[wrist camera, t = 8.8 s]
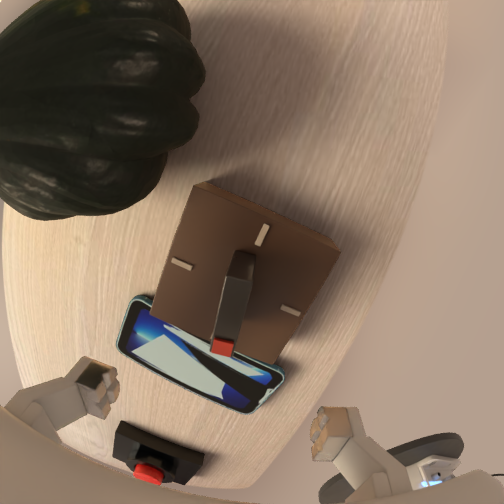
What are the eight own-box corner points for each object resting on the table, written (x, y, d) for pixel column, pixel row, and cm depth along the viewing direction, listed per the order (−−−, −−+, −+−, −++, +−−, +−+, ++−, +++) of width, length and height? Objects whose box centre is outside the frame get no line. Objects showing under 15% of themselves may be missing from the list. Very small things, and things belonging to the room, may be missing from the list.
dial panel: (331, 239, 20) (342, 253, 17) (272, 342, 23) (272, 366, 20) (204, 181, 19) (192, 185, 16) (162, 296, 22) (148, 315, 19)
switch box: (204, 453, 30) (200, 476, 26) (187, 475, 33) (182, 494, 29) (121, 420, 29) (110, 441, 25) (116, 447, 32) (108, 465, 28)
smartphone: (132, 293, 21) (289, 375, 23) (137, 288, 22) (289, 368, 24) (113, 349, 24) (248, 417, 25) (118, 344, 25) (249, 410, 26)
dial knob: (234, 249, 17) (224, 277, 13) (256, 255, 18) (253, 284, 13) (219, 316, 19) (207, 354, 15) (239, 321, 19) (232, 360, 15)
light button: (166, 471, 27) (163, 481, 26) (161, 479, 28) (158, 488, 27) (138, 460, 27) (134, 469, 25) (135, 468, 28) (132, 477, 26)
